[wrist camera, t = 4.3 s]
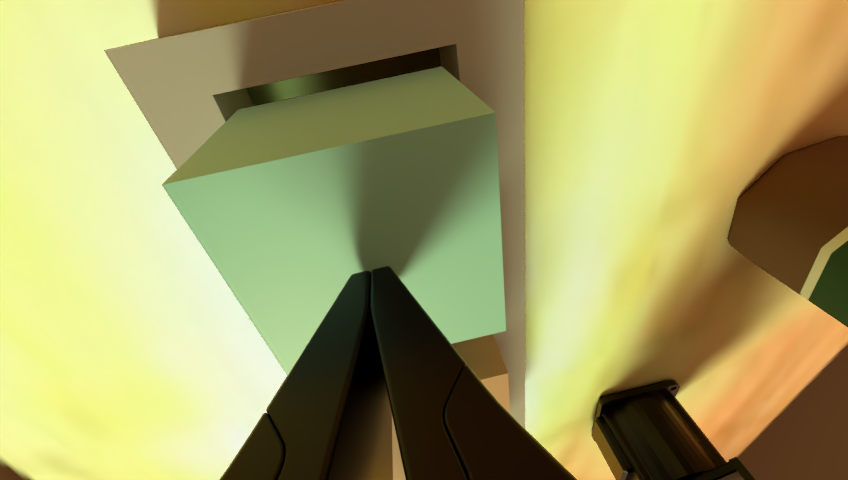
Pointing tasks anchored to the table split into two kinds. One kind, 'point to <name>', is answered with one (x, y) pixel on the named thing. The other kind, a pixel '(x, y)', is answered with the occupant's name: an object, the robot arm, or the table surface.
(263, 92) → the table surface
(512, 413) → the grey rectangular tray
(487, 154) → the green block
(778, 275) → the beer bottle
